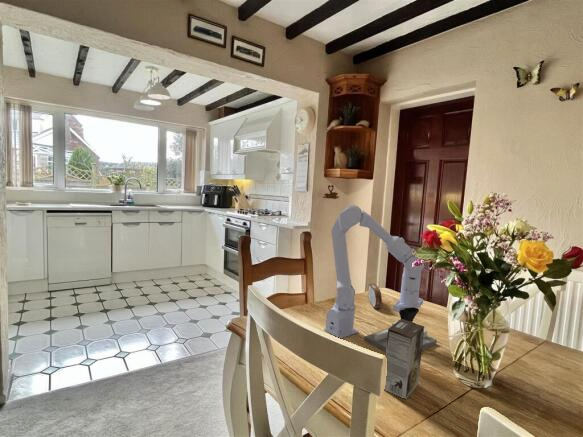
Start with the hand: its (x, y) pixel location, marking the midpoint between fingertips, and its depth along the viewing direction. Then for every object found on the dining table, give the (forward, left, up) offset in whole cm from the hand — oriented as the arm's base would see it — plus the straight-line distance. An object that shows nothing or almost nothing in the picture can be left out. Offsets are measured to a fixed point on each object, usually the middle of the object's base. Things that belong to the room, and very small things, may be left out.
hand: (405, 328), depth 111 cm
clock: (+19, +28, -5) cm, 34 cm away
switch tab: (-3, 0, -3) cm, 4 cm away
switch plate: (-2, 0, -4) cm, 5 cm away
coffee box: (-24, -15, -5) cm, 29 cm away
